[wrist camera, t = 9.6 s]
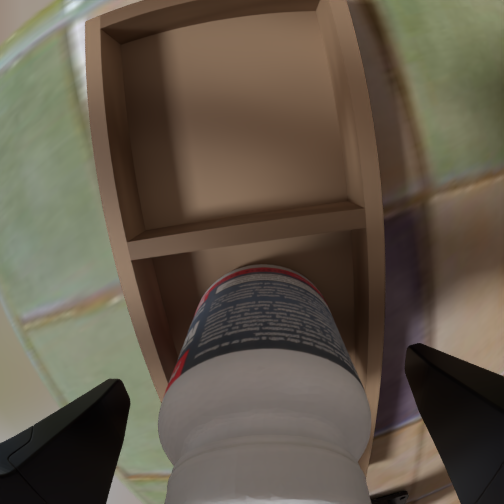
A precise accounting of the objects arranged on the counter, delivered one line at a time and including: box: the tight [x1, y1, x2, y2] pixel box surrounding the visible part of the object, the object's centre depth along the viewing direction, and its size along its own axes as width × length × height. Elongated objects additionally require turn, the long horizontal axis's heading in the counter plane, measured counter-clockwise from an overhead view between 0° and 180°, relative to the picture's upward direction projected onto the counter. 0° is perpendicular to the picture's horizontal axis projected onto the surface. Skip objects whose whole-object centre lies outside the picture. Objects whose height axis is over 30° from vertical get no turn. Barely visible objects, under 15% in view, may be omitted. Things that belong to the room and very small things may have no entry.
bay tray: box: [85, 0, 385, 478], centre depth 12 cm, size 25×9×2 cm, turn 8°
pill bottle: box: [158, 264, 371, 504], centre depth 8 cm, size 5×5×9 cm
